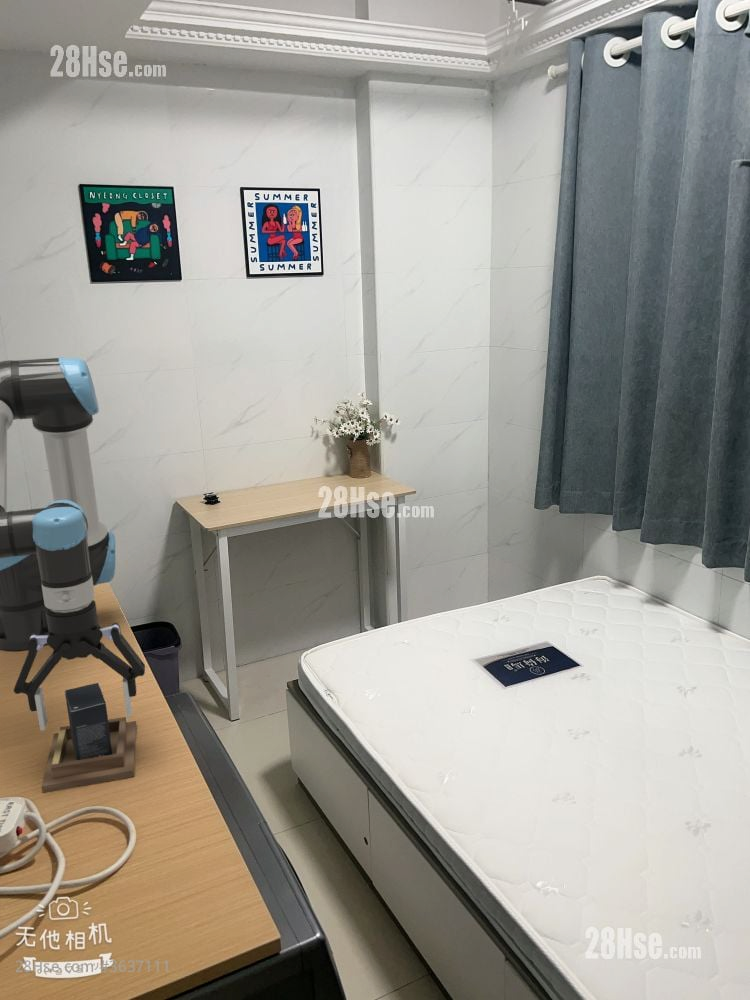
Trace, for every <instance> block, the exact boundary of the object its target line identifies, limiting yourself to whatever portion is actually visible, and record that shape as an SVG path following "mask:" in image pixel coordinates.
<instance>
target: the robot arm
mask: <svg viewBox="0 0 750 1000" xmlns="http://www.w3.org/2000/svg"><path fill="white" fill-rule="evenodd" d="M90 372H91V371H90V368H89V366H88V363H86V361H85V360H83V359H81V358H78V357H76V358H75V357H61V356H60V357H54V358H53V357H52V358H38V359H37V358H36V359H22V360H21V359H20V360H13V359H11V360H10V359H9V360H1V361H0V650H3V651H11V652H13V651H25V650H26V651H27V650H28V652H27V655H26V658H25V660H24V662H23V665H22V668H21V670H20V673H19V674H18V677H17V680H16V683H15V685H14V688H13V692H14V694H16V695H19V694H25V695H26V696H27V701H28V706H29V710H30V712H31V713H33V712H36V713H37V719H38V724H39V731H40V732H43V731H45V730H46V729H47V725H48V716H47V709H46V703H45V698H44V696H45V695H44V693H43V692H44V691H43V687H42V686H41V685H42V684H43V683H44V682H45V680H46V679H47V677H49V676H48V675H50V673H51V672H52V671H53V669H54V668H55V666H56V665H59V664H58V663H59V662H60V661H61V660H62V658H63V659H66V660H74V659H76V658H78V659H79V658H80V659H85V658H89V656H90V655H91V656H93V657H94V658H95V659H97V660H100V661H101V662H103V663H104V664H105V665H107V666H108V667H109V668H111V670H113V671H114V672H115V673H117V674H118V675H120V676H121V677H122V689H123V691H122V692H123V698H124V705H125V706H124V707H125V712H126V713H125V714H126V718H131V717H132V715H133V713H132V712H133V706H132V697H136V695H137V683H136V678H138V677H142V676H144V675H145V674H146V665H145V663H144V662H143V660H142V659H141V658H140V656H139V655H138V654H137V652H136V651H135V650H134V648H133V647H132V646H131V644H130V643H129V642H128V641H127V639H126V637H124V635H123V634H122V630H121V626H120V624H119V623H117V622H113V623H112V624H111V626H106V627H103V628H102V627H101V626H100V623H99V619H98V618H99V617H98V611H97V604H96V600H94V599H95V598H96V596H95V590H94V588H95V587H96V586H97V585H102V584H105V583H110V582H112V581H113V579H114V578H115V575H116V560H117V559H116V537H115V534H114V532H112V531H111V532H110V531H108V528H107V526H106V525H105V524H104V523H103V522H101V521H100V520H99V519H100V518H99V511H98V503H97V497H96V490H95V484H94V483H95V482H94V475H93V469H92V461H91V455H90V454H91V453H90V448H89V440H88V431H87V429H88V428H89V427H90V426H91V425H93V421H94V418H93V416H95V415H97V414H98V413H99V412H100V411H99V409H100V408H99V403H98V399H97V394H96V390H95V386H94V383H93V379H92V375H91V373H90ZM14 420H31V422H32V427H33V428H34V429H35V430H36V431H38V432H39V433H41V434H42V439H43V444H44V449H45V456H46V462H47V469H48V474H49V479H50V480H49V481H50V486H51V492H52V498H53V499H52V500H53V502H50V503H49V504H48V505H47V506H46V507H41V508H31V509H24V510H23V509H22V510H21V509H20V510H12V511H11V510H10V511H7V507H8V506H7V500H8V499H7V497H8V496H7V495H8V494H7V493H8V491H7V489H8V487H7V486H8V485H7V483H8V476H7V475H8V430H9V429H10V428H11V427H12V425H13V422H14ZM94 586H95V587H94ZM103 637H106V638H107V639H108V640H109V641H112V642H113V645H114V646H115V647H116V649H117V650H118V651H119V652H120V654H121V656H123V658H124V659H125V660H126V662H125V661H124V660H123V659H121V658H120V657H119V656H118V655H116V654H115V653H114V652H112V650H110V649H109V648H107V647H106V646H105V644H104V643H103V642H102V641H101V640H102V638H103ZM45 645H48V646H49V647H50V648H51V649H52V652H51V654H50V656H48V658H47V659H46V660H45V662H44V663H43V664H42V665H41V667H40V668H39V670H38V671H37V673H36V674H35V675H34V677H33V678H32V679H31V680H30V681H29V682H27V679H28V676H29V675H30V672H31V669H32V667H33V665H34V662H35V659H36V656H37V654H38V651H40V650H42V649H43V647H44V646H45Z"/></svg>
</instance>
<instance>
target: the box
mask: <svg viewBox="0 0 750 1000" xmlns="http://www.w3.org/2000/svg"><path fill="white" fill-rule="evenodd" d="M64 696H65V702H66V708H67V714H68V715H67V716H68V721H69V726H70V730H71V737H72V743H73V748H74V752H75V756H76V760H82V759H88V758H94V757H100V756H106V755H112V748H111V740H110V732H109V724H108V720H109V717H108V711H107V710H108V708H107V704H106V700H105V697H104V695H103V692H102V688H101V687H100V684H99V682H95V683H91V684H88V685H87V684H86V685H82V686H78V687H74V688H70V689H66V690H64Z"/></svg>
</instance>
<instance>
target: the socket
mask: <svg viewBox="0 0 750 1000" xmlns="http://www.w3.org/2000/svg"><path fill="white" fill-rule="evenodd" d="M108 724H109V732H110V740H111V748H112V755H106V756H100V757H94V758H88V759H82V760H76V756H75V752H74V748H73V743H72V737H71V730H70V725H65V726H59V727H60V728H59V731H58V732H56V733H53V737H52V741H51V745H50V748H49V752H48V757H47V760H46V766H45V770H44V774H43V779H42V782H41V792H42V794H43V793H49V792H54V791H61V790H67V789H71V788H77V787H83V786H89V785H95V784H100V783H105V782H111V781H117V780H122V779H128V778H134V777H135V763H136V760H135V759H136V747H137V746H136V744H137V730H138V729H137V727H138V725H137V720H132V721H127V716H124V717H115V718H108Z"/></svg>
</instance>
